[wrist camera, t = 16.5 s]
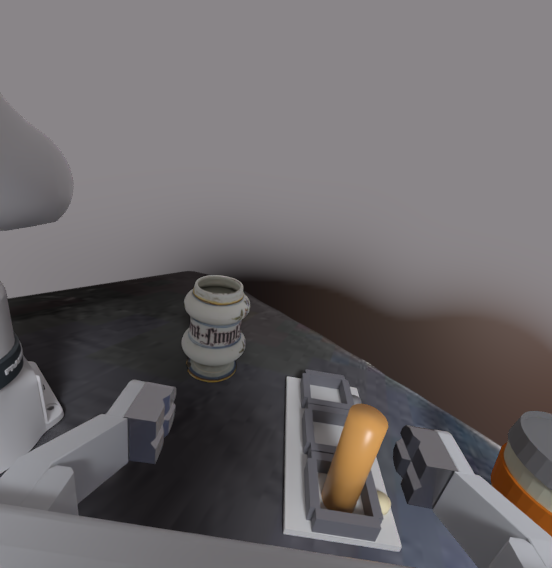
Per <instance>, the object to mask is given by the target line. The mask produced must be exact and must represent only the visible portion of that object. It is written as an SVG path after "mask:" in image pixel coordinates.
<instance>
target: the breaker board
mask: <svg viewBox="0 0 552 568" xmlns="http://www.w3.org/2000/svg"><path fill="white" fill-rule="evenodd" d="M355 404H361V399H360V398H359V395H358V392H357V388H353V387H350V386H349V382H348V380H345V378H344V376H343V375H337V374H331V373H325V372H319V371H313V370H307V369H306V370H305V373H303V374H302V378H301V379H300V378H294V377H288V376H287V379H286V412H285V464H284V515H283V534H288V535H294V536H301V537H307V538H313V539H320V540H326V541H333V542H339V543H346V544H352V545H358V546H365V547H371V548H378V549H384V550H391V551H397V552H399V551H400V549H401V547H402V546H401V542H400V539H399V535H398V532H397V528H396V525H395V521H394V518H393V514H392V511H391V502H390V499H389V497H388V496H387V493H386V490H385V486H384V483H383V479H382V476H381V472H380V469H379V465H378V462H377V458H375V460H374V463H373V465H372V467H371V470H370V472H369V475H368V477H367V479H366V482H365V484H364V487H363V489H362V491H361V494H360V496H359V499H358V501H357V504H356V506H355V508H354V511H353V512H352V513H346V512H340V511H334V510H328V509H327V508H326V507H325V505H324V503H323V501H322V496H321V493H322V489H323V486H324V483H325V480H326V477H327V474H328V471H329V468H330V465H331V462H332V459H333V457H334V454H335V451H336V448H337V445H338V442H339V439H340V436H341V433H342V430H343V427H344V424H345V421H346V418H347V416H348V413H349V410H350V408H351V407H352V406H353V405H355Z"/></svg>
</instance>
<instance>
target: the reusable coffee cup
mask: <svg viewBox="0 0 552 568" xmlns="http://www.w3.org/2000/svg"><path fill="white" fill-rule="evenodd" d="M508 439H509V440H508V442H507V443H505V444H504V445H503V446H502V447H501V450H500V452H499V455H498V457H497V460H496V463H495V465H494V468H493V470H492V473H491V486H492V487H494V488H495V489H496V490H497V491H498V492H499V493H501V494H502V495H503V496H504V497H505V498H507V499H508V500H509V501H510V502H511V503H512V504H514V505H515V506H516V507H517V508H518V509H520V510H521V511H522V512H523V513H524V514H525V515H527V516H528V517H529V518H530V519H531V520H532V521H534V522H535V523H536V524H537V525H538V526H540V527H541V528H542V529H543V530H544V531H545V532H547V533H548V534H549V535H550V536H551V537H552V414H550V413H546V412H539V411H529V412H526V413H524V414H523V415H522V416H521V417H520V418H519V419H518V421H517V422H516V423H515V424H514V425H513V426H512V427H511V429H510V430H509V433H508Z"/></svg>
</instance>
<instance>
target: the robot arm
mask: <svg viewBox="0 0 552 568" xmlns="http://www.w3.org/2000/svg"><path fill="white" fill-rule="evenodd" d="M72 195H73V177H72V173H71V170H70V167H69V164H68V162H67V160H66V159H65V157H64V155H63V154H62V152H61V151H60V150H59V148H58V147H57V146H56V145H55V144H54V143H53V142H52V141H51V139H49V138H48V137H47V136H46V135H45V134H44V133H42V132H41V131H39V130H38V129H36V128H35V127H34V126H32V125H31V124H30V123H29V122H28V121H26V120H25V119H24V118H23V117H22V116H21V115H20V114H19V113H18V112H17V111H15V109H14V108H12V107H11V106H10V104H9V103H8V102H7V101H6V100H5V99H4V98H3V96H2V95H1V94H0V231H7V230H13V229H19V228H25V227H31V226H37V225H42V224H47V223H51V222H56V221H57V220H58V219H59V218H60V217H61V216H62V215H63V214H64V213H65V212H66V210H67V208H68V207H69V204H70V202H71V199H72ZM175 397H176V388H175V387H172V386H166V385H161V384H156V383H151V382H143V381H138V380H132V381H130V382H129V383H128V384H127V386H126V387H125V389H124V390H123V391H122V393H121V394H120V396H119V397H118V398H117V400H116V401H115V402H114V404H113V405H112V407H111V408H110V409H109V411H108V412H107V413H106V415H105V414H100V415H98V416H96V417H95V418H93V419H91V420H89V421H87V422H85V423H83V424H81V425H79V426H78V427H76V428H74V429H72V430H70V431H68V432H66V433H64V434H62V435H61V436H59V437H57V438H55V439H53V440H51V441H49V442H47V443H45V444H44V445H42V446H40V447H38V448H36V449H34V450H32V451H30V450H31V449H32V448H33V447H34V446H35V445H36V443H37V442H38V440H39V439H40V438H41V436H42V435H43V434H44V433H45V432H46V431H47V430H48V429H50V428H51V427H53V426H54V425H55V424H57V423H58V422H59V421H60V420H61V419H62V418H63V416H64V412H63V409H62V407H61V405H60V403H59V402H58V400H57V398H56V397H55V395H54V393H53V392H52V390H51V388H50V386H49V385H48V383H47V381H46V380H45V378H44V376H43V375H42V373H41V371H40V369H39V368H38V366H37V364H36V363H35V362H32V361H27V360H26V358H25V357H24V355H23V349H22V345H21V343H20V341H19V338H18V336H17V335H16V334H15V333H14V332H13V327H12V322H11V316H10V311H9V305H8V300H7V294H6V290H5V287H4V286H3V284H2V283H1V281H0V473H2V472H4V471H5V470H7V469H8V468H9V469H8V470H7V471H6V472H5V473H4V474H3V476H2V477H1V478H0V568H414V567H407V566H401V565H394V564H388V563H381V562H375V561H368V560H362V559H355V558H349V557H342V556H336V555H329V554H323V553H316V552H310V551H303V550H297V549H290V548H284V547H278V546H271V545H265V544H258V543H252V542H246V541H239V540H233V539H226V538H220V537H213V536H207V535H200V534H194V533H187V532H181V531H175V530H168V529H162V528H155V527H149V526H142V525H136V524H129V523H123V522H116V521H110V520H104V519H97V518H91V517H84V516H79V515H78V506H77V504H78V503H79V502H81V501H82V500H83V499H84V498H85V497H87V496H88V495H89V494H90V493H92V492H93V491H94V490H95V489H96V488H98V487H99V486H100V485H101V484H102V483H104V482H105V481H106V480H107V479H108V478H110V477H111V476H112V475H113V474H115V473H116V472H117V471H118V470H119V469H121V468H122V467H123V466H124V465H125V464H127V463H128V461H136V462H144V463H152V464H155V463H156V461H157V458H158V456H159V454H160V452H161V449H162V447H163V438H164V437H165V436H167V435H168V434H169V431H170V429H171V426H172V423H173V420H174V415H175V407H176V406H175V404H174V403H173V402H174V400H175ZM400 434H401V436H402V439H400V440H399V441H397V442H396V444H395V447H394V449H393V461H394V466H395V469H396V472H397V473H398V474H399V475H400V476H401V477H402V478H403V479H402V482H401V487H402V490H403V493H404V496H405V499H406V502H407V504H409V505H414V506H419V507H425V508H430V509H433V512H434V513H435V514H436V515H437V517H438V518H439V519H440V520H441V522H442V523H443V524H444V525H445V527H446V528H447V529H448V530H449V532H450V533H451V534H452V535H453V537H454V538H455V539H456V540H457V542H458V543H459V544H460V545H461V547H462V548H463V549H464V550H465V552H466V553H467V554H468V555H469V557H470V558H471V559H472V560H473V562H474V563H475V564H476V565H477V567H478V568H552V537H551V536H550V535H549V534H548V533H547V532H545V531H544V530H543V529H542V528H541V527H540V526H538V525H537V524H536V523H535V522H534V521H532V520H531V519H530V518H529V517H528V516H527V515H525V514H524V513H523V512H522V511H521V510H520V509H518V508H517V507H516V506H515V505H514V504H512V503H511V502H510V501H509V500H508V499H507V498H505V497H504V496H503V495H502V494H501V493H499V492H498V491H497V490H496V489H495V488H494V487H492V486H491V485H490V484H489V483H488V482H487V481H485V480H484V479H483V478H482V477H481V476H479V475H475V474H474V472H473V470H472V469H471V467H470V465H469V464H468V462H467V460H466V458H465V457H464V455H463V453H462V452H461V450H460V448H459V446H458V445H457V443H456V441H455V440H454V438H453V436H452V435H451V434H450V433H449V432H447V431H440V430H432V429H426V428H420V427H414V426H407V425H405V426H404V427H403V428H402V430H401V433H400ZM29 451H30V452H29Z"/></svg>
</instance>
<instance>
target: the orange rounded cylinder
mask: <svg viewBox="0 0 552 568" xmlns="http://www.w3.org/2000/svg"><path fill="white" fill-rule="evenodd" d="M387 429H388V422H387V420H386V418H385V416H384V415H383V414H382V413H381V412H380V411H379V410H377V409H376V408H374V407H372V406H369V405H366V404H355V405H353V406H352V407H351V408H350V410H349V413H348V416H347V418H346V421H345V424H344V427H343V430H342V433H341V436H340V439H339V442H338V445H337V448H336V451H335V454H334V457H333V459H332V462H331V465H330V468H329V471H328V474H327V477H326V480H325V483H324V486H323V489H322V493H321V496H322V501H323V503H324V505H325V507H326V508H327V509H328V510H334V511H340V512H346V513H352V512H353V511H354V508H355V506H356V504H357V501H358V499H359V496H360V494H361V491H362V489H363V487H364V484H365V482H366V479H367V477H368V475H369V472H370V470H371V467H372V465H373V463H374V460H375V458H376V455H377V453H378V451H379V448H380V446H381V443H382V441H383V438H384V436H385V434H386V431H387Z"/></svg>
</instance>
